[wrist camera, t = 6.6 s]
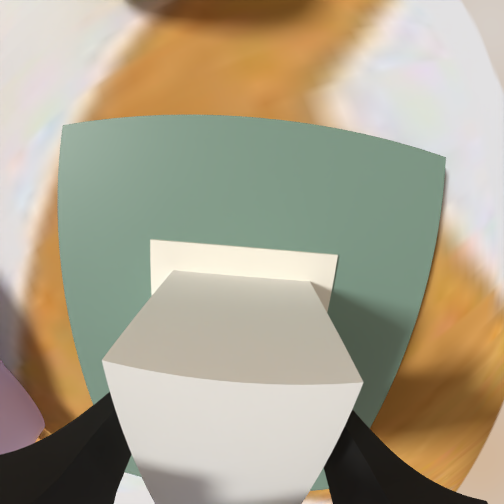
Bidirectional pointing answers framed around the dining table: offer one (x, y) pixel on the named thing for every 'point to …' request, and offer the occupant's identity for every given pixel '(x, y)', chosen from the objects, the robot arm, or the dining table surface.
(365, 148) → the board
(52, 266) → the dining table surface
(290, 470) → the plug housing
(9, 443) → the purple lobed piece
